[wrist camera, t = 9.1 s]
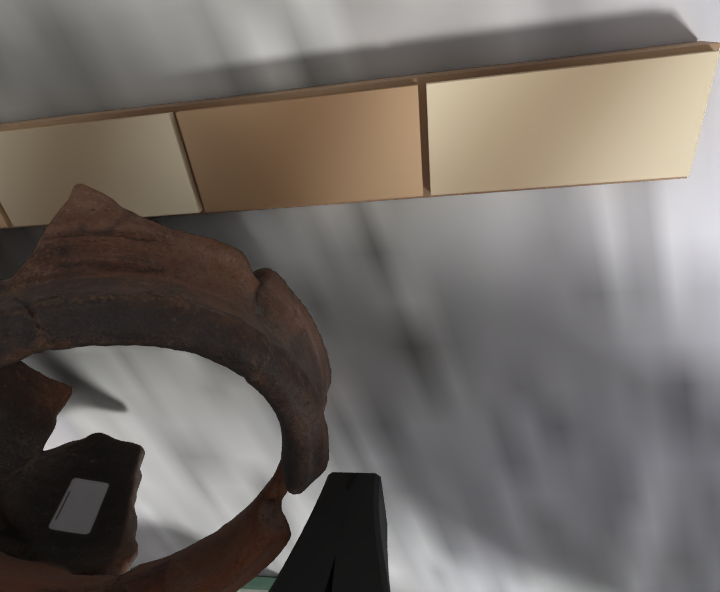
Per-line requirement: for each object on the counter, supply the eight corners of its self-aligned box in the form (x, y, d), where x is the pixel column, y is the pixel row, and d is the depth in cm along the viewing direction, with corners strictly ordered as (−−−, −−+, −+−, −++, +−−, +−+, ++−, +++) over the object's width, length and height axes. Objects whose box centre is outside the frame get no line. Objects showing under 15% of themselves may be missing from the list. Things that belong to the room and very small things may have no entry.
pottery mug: (-70, 99, 10) (-468, 141, 4) (310, 196, 15) (451, 296, 8) (-79, 505, 14) (-289, 915, 7) (231, 484, 18) (284, 723, 12)
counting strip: (701, 40, 8) (727, 43, 7) (671, 168, 9) (691, 181, 8) (-179, 144, 11) (-219, 152, 10) (-120, 230, 12) (-152, 242, 11)
